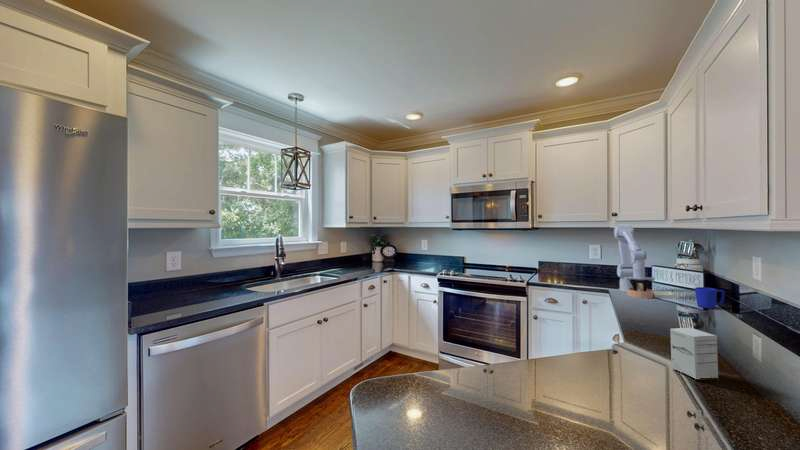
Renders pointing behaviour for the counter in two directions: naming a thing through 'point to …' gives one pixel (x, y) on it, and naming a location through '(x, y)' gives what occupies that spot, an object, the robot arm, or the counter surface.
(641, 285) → the peg
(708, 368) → the supplement box
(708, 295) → the mug
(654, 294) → the tray
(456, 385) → the counter surface
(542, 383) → the counter surface
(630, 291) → the orange peg base
